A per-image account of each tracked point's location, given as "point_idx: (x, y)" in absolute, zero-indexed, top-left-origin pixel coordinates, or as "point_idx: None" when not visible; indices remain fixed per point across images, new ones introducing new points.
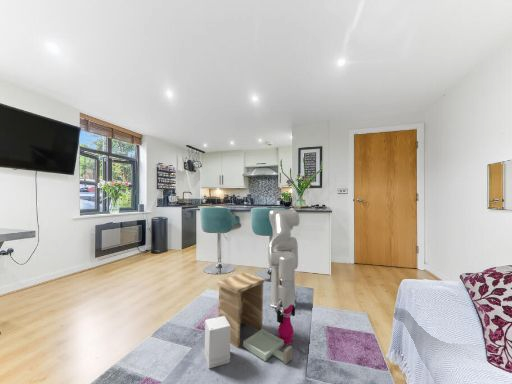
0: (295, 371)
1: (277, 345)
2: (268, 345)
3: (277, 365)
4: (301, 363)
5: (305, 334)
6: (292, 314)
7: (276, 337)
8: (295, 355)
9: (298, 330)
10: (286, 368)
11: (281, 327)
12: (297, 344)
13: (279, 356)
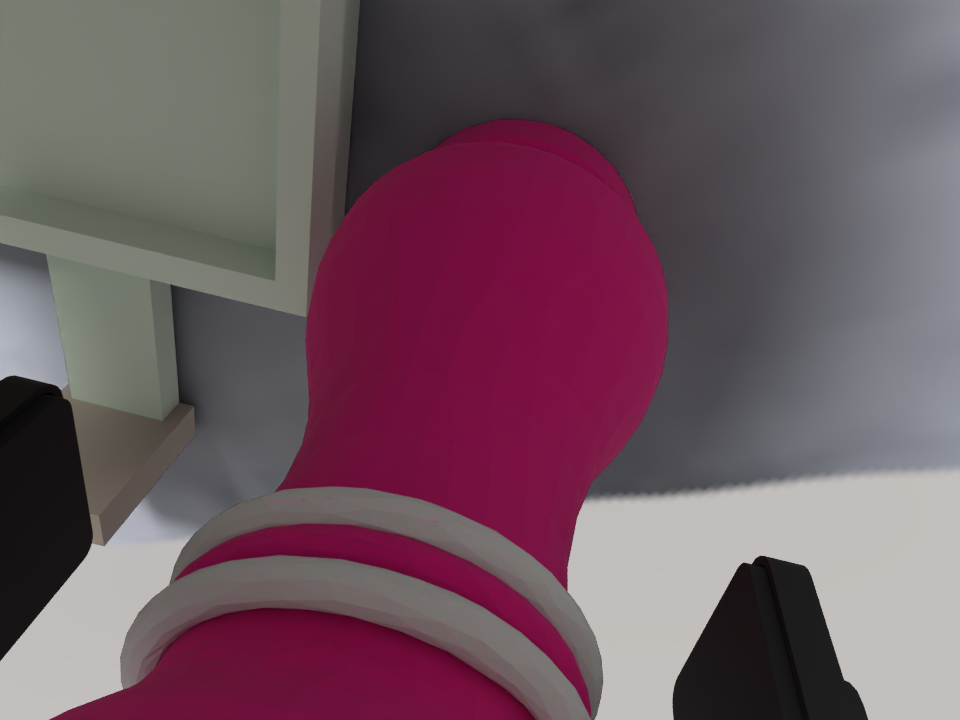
0: None
1: (123, 270)
2: (101, 72)
3: (2, 319)
4: None
5: (845, 469)
6: (692, 688)
7: (289, 164)
8: (298, 446)
9: (941, 349)
10: None
11: (313, 328)
12: None
13: (61, 328)
